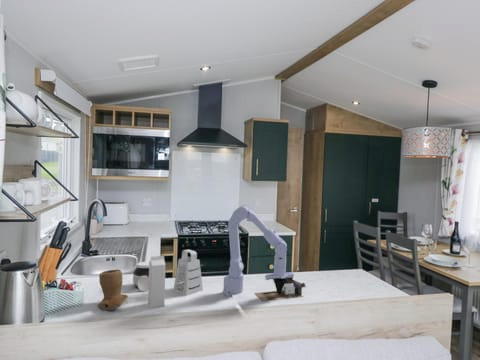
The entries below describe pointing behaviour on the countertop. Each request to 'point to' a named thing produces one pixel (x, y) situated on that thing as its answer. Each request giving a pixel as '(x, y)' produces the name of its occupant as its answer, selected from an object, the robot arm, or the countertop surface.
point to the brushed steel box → (288, 289)
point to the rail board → (275, 296)
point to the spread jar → (141, 276)
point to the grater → (188, 274)
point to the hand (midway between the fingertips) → (278, 293)
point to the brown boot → (111, 289)
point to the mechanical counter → (290, 280)
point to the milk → (156, 282)
